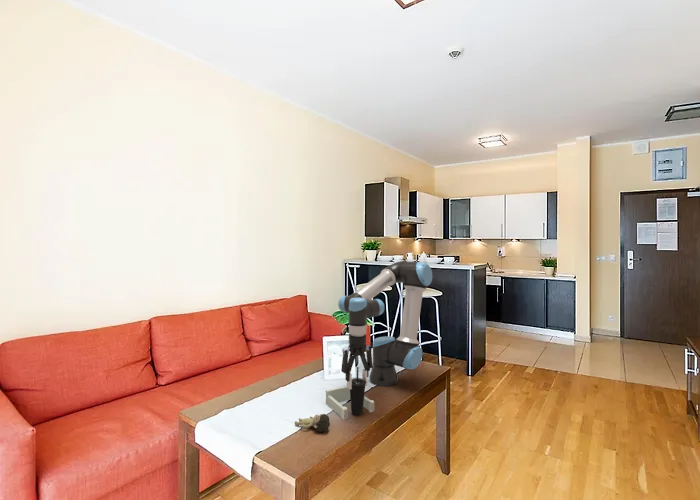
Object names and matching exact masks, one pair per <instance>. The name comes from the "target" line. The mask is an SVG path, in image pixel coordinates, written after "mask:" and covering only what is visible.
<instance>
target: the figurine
mask: <svg viewBox="0 0 700 500" xmlns="http://www.w3.org/2000/svg"><path fill="white" fill-rule="evenodd" d="M294 425H295V427H298V426H299V425H300V428H302V429H306V430H307V429H308V428H311V427H314V428H315V430H316V431H319V432H323V433H324V432H326V431H327V430H329V428H330V425H331V423H330V417H329V415H327V414H326V413H323V414H322V413H321V414H319V415H318V414H315V415H314V417H313V416H309V417H308V418H300V417H299V418H298V421H297V420H296V421H294Z"/></svg>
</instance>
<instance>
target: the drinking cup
mask: <svg viewBox="0 0 700 500" xmlns="http://www.w3.org/2000/svg"><path fill="white" fill-rule="evenodd" d="M365 385H366V381H365V380H363V379H362V377H359V366H356V377H354V378H353V377H352V389H350V399H349V400H350V410H351V411H350V412H351V414H352V415H354V416H355V415H356V416H360V415H362V414H363V411H364V407H363V403H364V396H365V394H366V393H365V392H366V386H365Z"/></svg>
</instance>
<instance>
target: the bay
mask: <svg viewBox="0 0 700 500" xmlns="http://www.w3.org/2000/svg"><path fill="white" fill-rule="evenodd" d="M347 400H348V401H349V400H351V399H350V389H349V388H347V385H345V386H341V387H336V388H330V389H326V390H325V403H326V405H328V407H330V408H331V409H332V410H333V411H334V412H335V413H336V414H337V415H338V416H339V417H340V418H341V419H342V420H344V421H345V420H348V407H346V406H343V405H342V404H341V403H340V402H343V401H347ZM363 408H365V409H366V410H367V411H368V412H369V413H374V412H375V401H374V400H373V399H370V398H368V397H367V396H366V395H364V403H363Z"/></svg>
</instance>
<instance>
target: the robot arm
mask: <svg viewBox="0 0 700 500" xmlns="http://www.w3.org/2000/svg"><path fill="white" fill-rule="evenodd" d="M432 281H433V270H432V268H431V266H430V265H429V264H428V263H426V262H421V261H408V260H407V261H406V260H402V261H397V262H394V263H392V264H389V265H388V266H386V267H385V268H384V269H382V270H381V271H380V274H378V275H377V276H375V277H374V278H372V279H371V280H370V281H368V282H366V284H364V285H363V286H361V287H360V288H359V289H357V290H356V291H355V292H353V293H352V294H350V295H342V296H340V298H339V299H338V304H337V305H338V309H339V310H340V311H341V312H343V313H344V312H345V313H348V347H347V348H343V349H342V350H341V351H342V361H341V373H343V374H345V381H346V386H347V388H349V389H352V379H353V377H352V375H353V374H352V373H351V371H352V368H353V365H354V362H355V359H357V357H360V360H361V363H362V365H363V369H362V377H361V379H363V380H365V381H366V385H365V387H367V386H368V379H369V382H370V383H371V384H373V385H374V386H378V387H379V386H380V387H388V386H394V385H396V384H397V383H398V382H399V379H398V378H399V377H398V373H397V370H396V367H395V366H397V367H401V368H403V369H405V370H406V369H407V370H415V369H417V368H418V366H419V365H420V364H421V362H422V359H423V353H424V352H423V349H422V348H421V347H420V341H419V340H418V339H417V338H418V332H419V323H420V316H421V308H422V300H423V293H424V292H425V291H426V290H427V287H428V286H430V285H431V283H432ZM397 283H399V284H403V287H404V289H405V294H404V295H405V296H404V303H403V311H402V318H401V325H400V333H399V336H398V337H397V338H395V337H394V336H385V335H384V336H379V337H376V338H374V339H373V341H372V346H371V345H369V344H366V343H367V335H366V334H367V320H368V319H370V318H374V317H378V316H381V315H382V314H383V313H384V312H385V303H384V302H383V301H382V300H381V299H379V298H374V297H376V296H377V295H379V294H380V293H381V292H383V291H384V290H385V289H386V288H388V287H391V286H393V285H395V284H397ZM369 373H370V374H369Z"/></svg>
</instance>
